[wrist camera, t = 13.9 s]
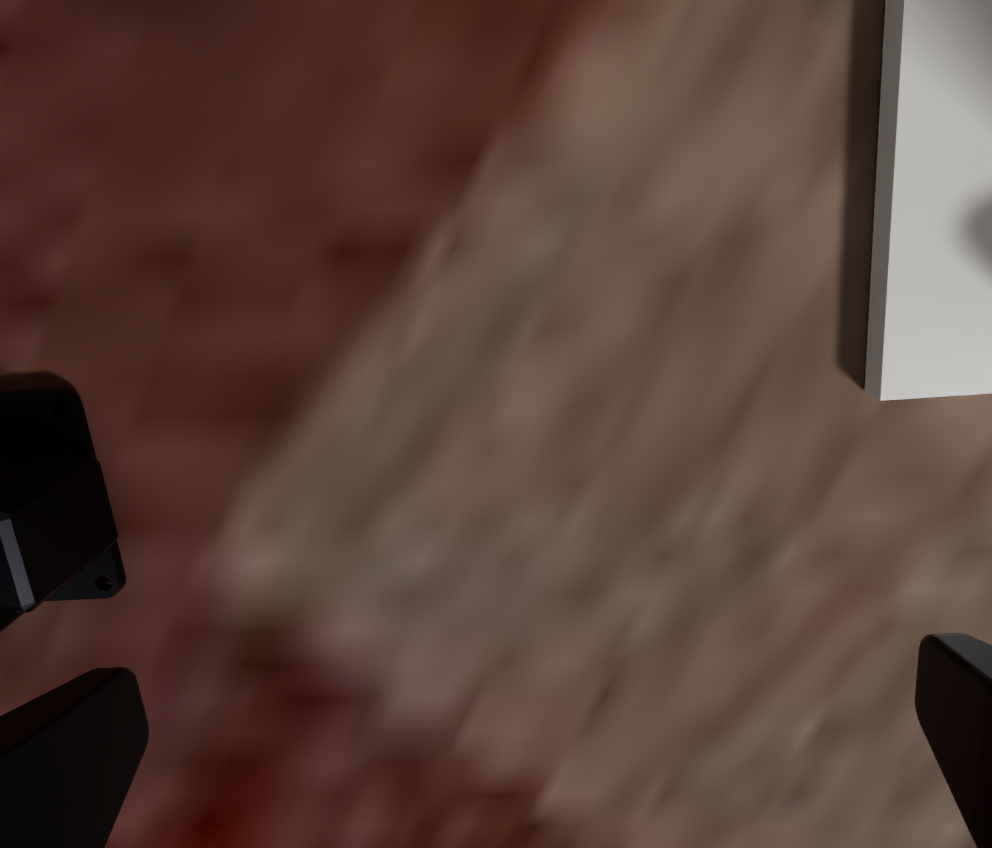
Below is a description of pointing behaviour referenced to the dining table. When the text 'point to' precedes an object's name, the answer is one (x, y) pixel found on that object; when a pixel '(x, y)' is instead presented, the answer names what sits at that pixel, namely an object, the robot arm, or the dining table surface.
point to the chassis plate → (933, 204)
